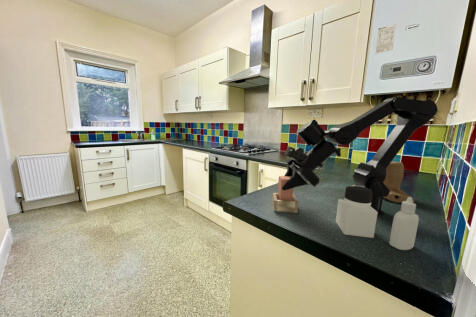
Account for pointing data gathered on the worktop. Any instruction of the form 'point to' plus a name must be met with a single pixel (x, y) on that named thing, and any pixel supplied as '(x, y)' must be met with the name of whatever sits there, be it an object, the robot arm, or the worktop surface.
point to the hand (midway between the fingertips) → (281, 187)
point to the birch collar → (284, 204)
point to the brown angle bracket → (395, 182)
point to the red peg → (284, 193)
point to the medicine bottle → (357, 212)
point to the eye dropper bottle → (404, 226)
